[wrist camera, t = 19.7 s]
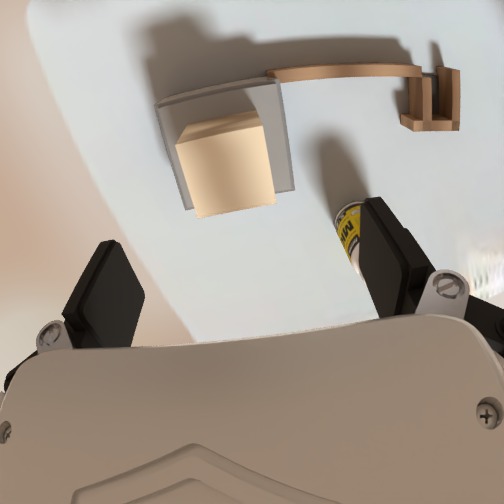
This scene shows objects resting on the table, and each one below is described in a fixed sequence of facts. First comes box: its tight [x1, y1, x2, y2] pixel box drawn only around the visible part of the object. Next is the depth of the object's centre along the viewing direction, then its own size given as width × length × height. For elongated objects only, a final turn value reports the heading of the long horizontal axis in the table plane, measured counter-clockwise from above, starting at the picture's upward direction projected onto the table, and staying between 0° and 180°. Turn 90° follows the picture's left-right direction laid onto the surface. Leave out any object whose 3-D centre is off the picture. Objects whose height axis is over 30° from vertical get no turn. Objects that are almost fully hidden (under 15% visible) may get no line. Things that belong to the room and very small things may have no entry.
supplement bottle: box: [335, 201, 367, 286], centre depth 28 cm, size 5×5×8 cm
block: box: [175, 110, 276, 218], centre depth 20 cm, size 5×5×5 cm
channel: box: [266, 63, 460, 132], centre depth 19 cm, size 18×16×2 cm
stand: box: [154, 76, 295, 210], centre depth 23 cm, size 9×9×4 cm
